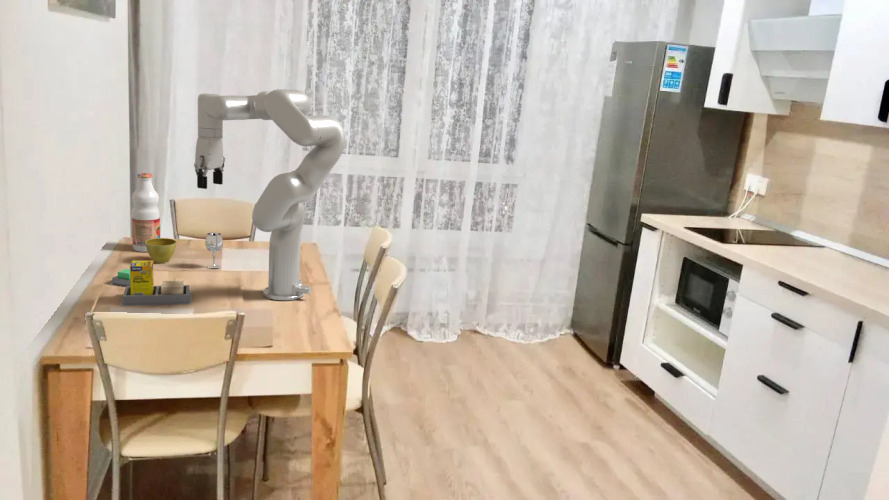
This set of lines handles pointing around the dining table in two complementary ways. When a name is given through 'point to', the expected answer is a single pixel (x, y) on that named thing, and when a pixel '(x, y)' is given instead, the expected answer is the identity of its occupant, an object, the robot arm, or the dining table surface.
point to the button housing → (120, 282)
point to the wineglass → (214, 245)
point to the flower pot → (160, 249)
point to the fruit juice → (145, 213)
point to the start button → (124, 274)
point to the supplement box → (141, 278)
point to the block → (172, 287)
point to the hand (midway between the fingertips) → (210, 186)
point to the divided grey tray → (156, 298)
